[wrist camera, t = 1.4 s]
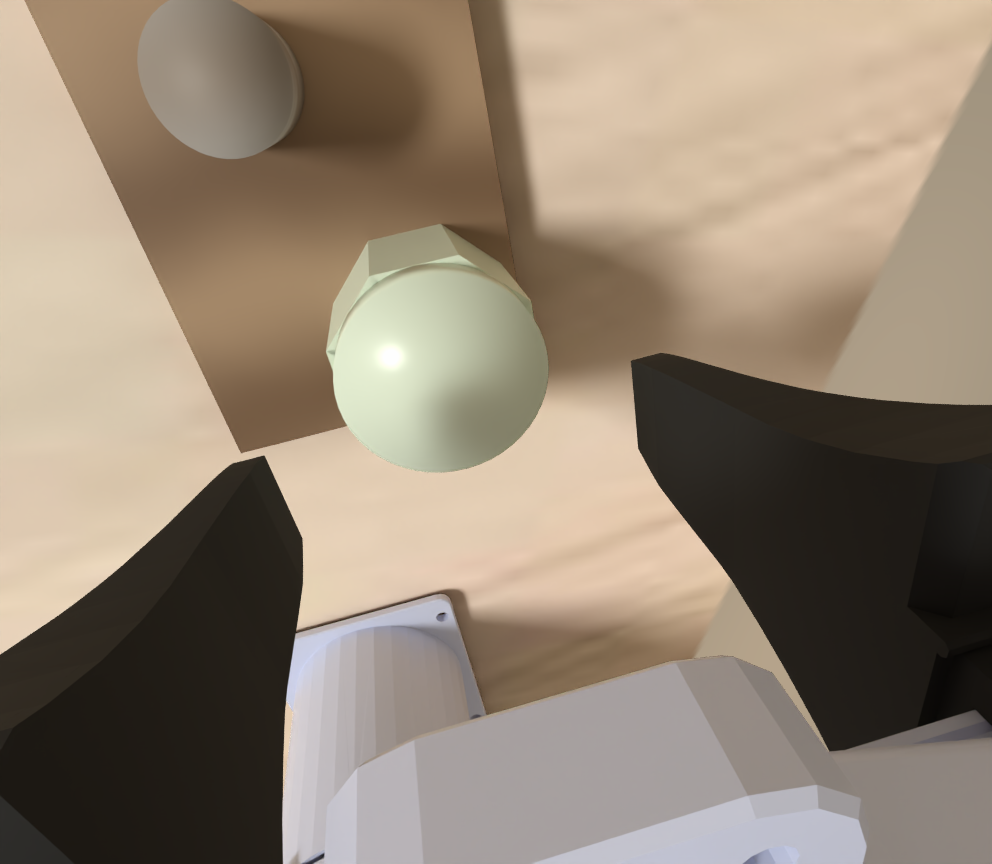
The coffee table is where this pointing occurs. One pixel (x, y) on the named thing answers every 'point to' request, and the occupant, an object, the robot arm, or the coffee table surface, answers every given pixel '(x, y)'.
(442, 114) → the post base
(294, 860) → the robot arm
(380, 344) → the cap
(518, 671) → the coffee table surface
